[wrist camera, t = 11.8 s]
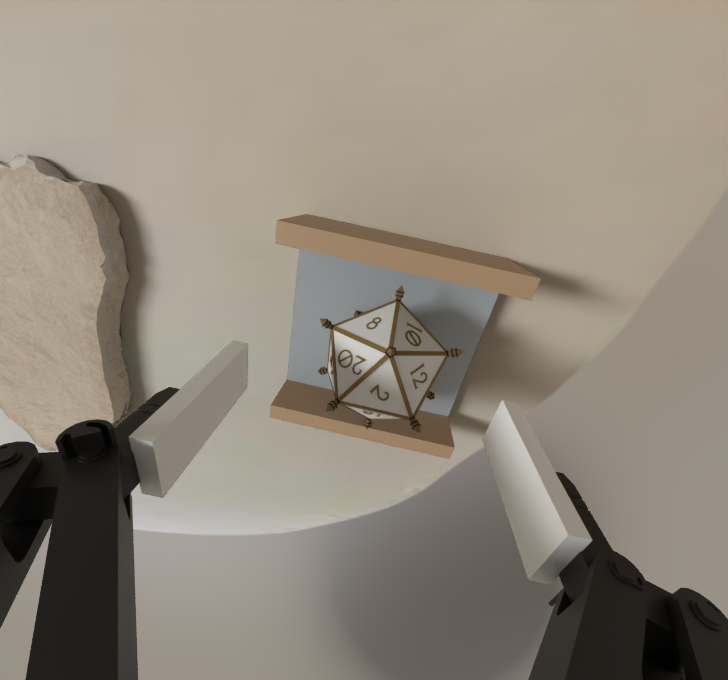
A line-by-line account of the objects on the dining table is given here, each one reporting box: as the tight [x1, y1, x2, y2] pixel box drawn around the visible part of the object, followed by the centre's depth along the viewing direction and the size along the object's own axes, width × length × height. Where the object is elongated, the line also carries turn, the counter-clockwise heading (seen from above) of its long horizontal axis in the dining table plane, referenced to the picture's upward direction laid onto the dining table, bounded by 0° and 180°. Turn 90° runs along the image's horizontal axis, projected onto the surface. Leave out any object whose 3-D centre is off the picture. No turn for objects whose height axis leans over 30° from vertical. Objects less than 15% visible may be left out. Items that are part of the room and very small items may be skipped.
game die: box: [317, 286, 464, 433], centre depth 19 cm, size 9×8×10 cm
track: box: [270, 214, 541, 459], centre depth 21 cm, size 14×14×6 cm
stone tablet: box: [0, 154, 131, 452], centre depth 27 cm, size 16×30×2 cm, turn 160°
